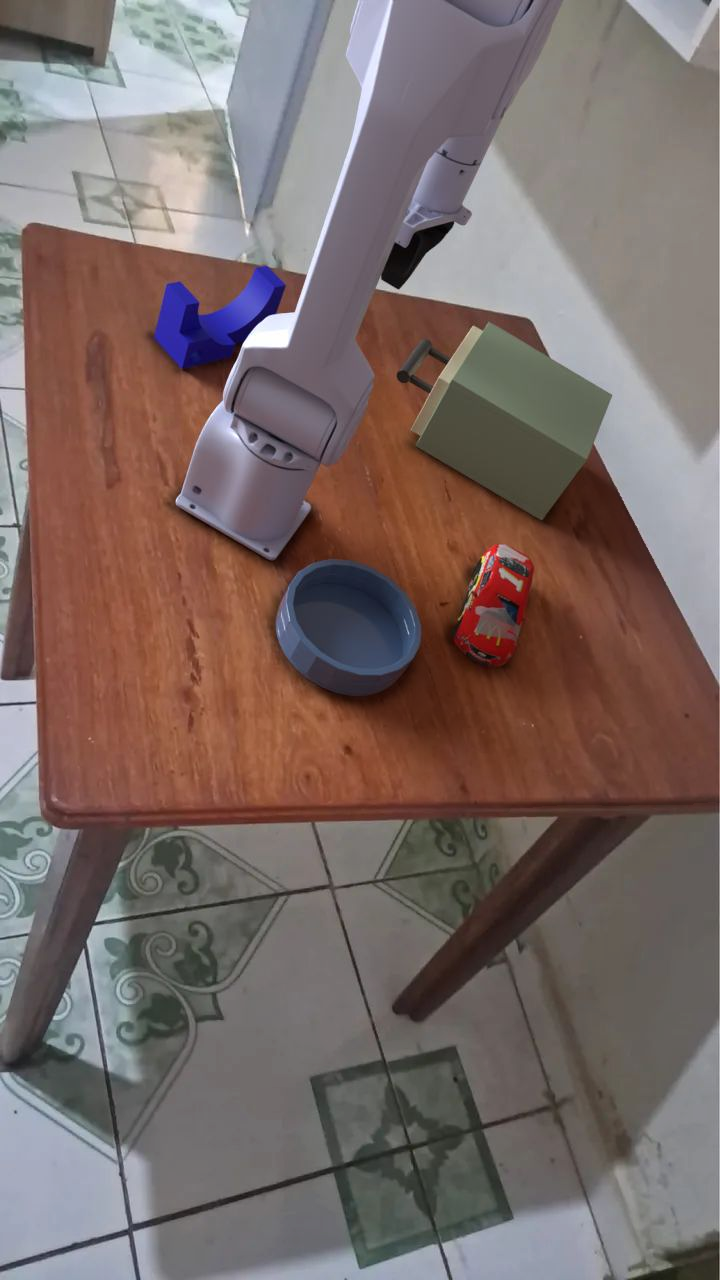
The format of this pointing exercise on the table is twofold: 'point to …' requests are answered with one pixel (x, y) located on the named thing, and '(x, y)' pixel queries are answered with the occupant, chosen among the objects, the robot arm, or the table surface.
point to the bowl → (347, 627)
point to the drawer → (442, 381)
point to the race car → (494, 606)
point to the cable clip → (214, 320)
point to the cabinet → (516, 421)
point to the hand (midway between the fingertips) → (392, 281)
